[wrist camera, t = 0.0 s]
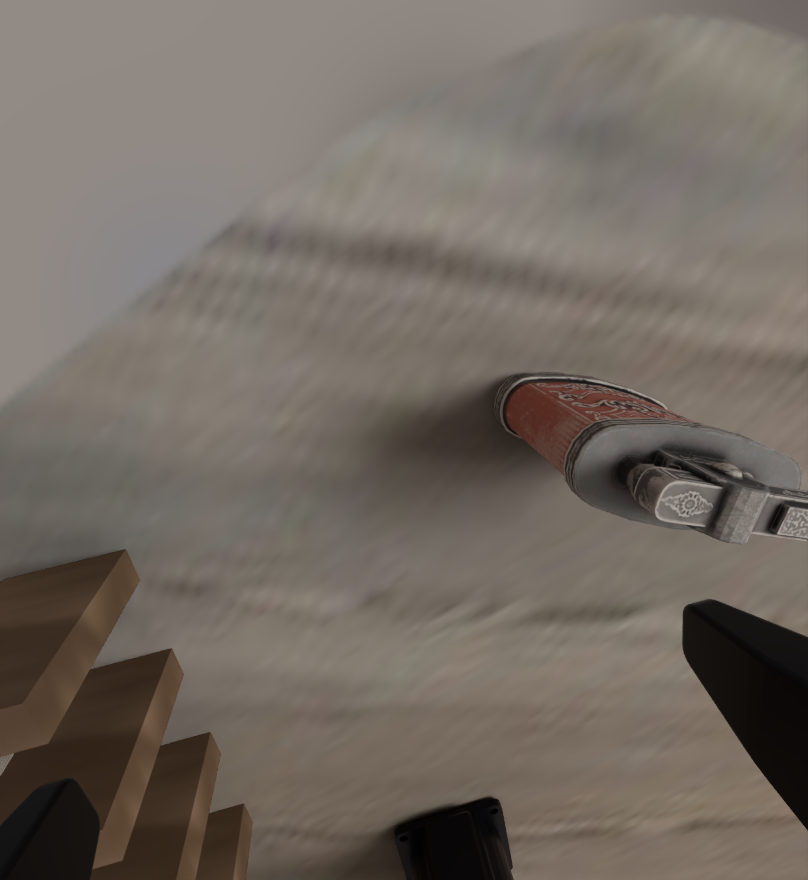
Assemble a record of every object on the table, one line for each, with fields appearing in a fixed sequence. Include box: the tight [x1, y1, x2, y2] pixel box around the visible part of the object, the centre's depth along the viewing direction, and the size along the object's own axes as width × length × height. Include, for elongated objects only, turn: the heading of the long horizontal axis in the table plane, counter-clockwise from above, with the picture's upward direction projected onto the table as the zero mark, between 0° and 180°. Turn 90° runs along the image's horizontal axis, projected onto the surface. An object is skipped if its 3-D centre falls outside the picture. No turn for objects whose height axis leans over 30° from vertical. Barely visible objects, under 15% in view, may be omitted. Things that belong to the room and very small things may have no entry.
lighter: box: [494, 372, 808, 545], centre depth 18 cm, size 8×3×10 cm, turn 78°
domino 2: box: [0, 648, 184, 869], centre depth 20 cm, size 2×5×8 cm, turn 101°
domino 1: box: [0, 549, 140, 757], centre depth 18 cm, size 2×5×8 cm, turn 101°
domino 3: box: [90, 732, 221, 880], centre depth 22 cm, size 2×5×8 cm, turn 101°
